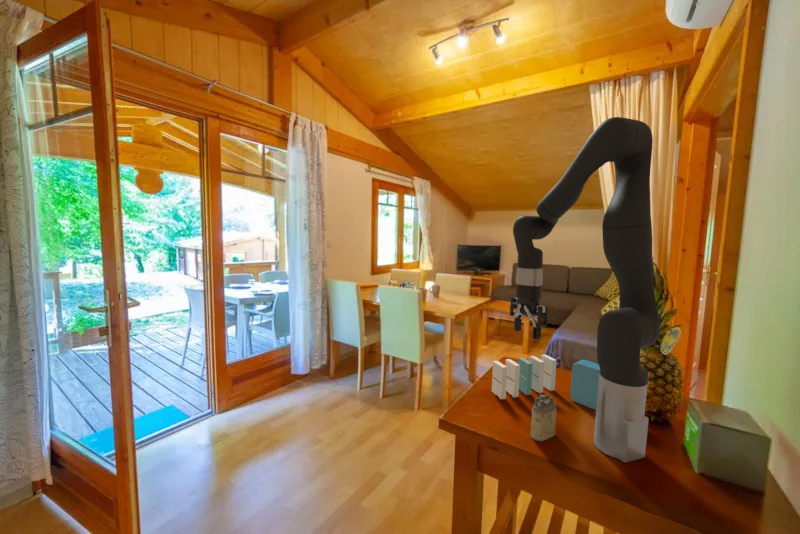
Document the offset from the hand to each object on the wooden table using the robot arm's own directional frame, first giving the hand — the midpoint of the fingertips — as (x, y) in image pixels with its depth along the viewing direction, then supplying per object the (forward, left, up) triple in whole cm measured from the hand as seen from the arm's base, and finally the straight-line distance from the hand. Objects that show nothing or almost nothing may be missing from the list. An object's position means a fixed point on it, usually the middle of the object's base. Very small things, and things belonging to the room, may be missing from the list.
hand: (526, 334), depth 104 cm
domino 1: (0, +9, -18) cm, 20 cm away
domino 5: (0, -9, -18) cm, 20 cm away
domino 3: (0, 0, -18) cm, 18 cm away
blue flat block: (-13, -14, -19) cm, 27 cm away
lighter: (-20, +10, -19) cm, 29 cm away
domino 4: (0, -4, -18) cm, 19 cm away
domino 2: (0, +5, -18) cm, 19 cm away
